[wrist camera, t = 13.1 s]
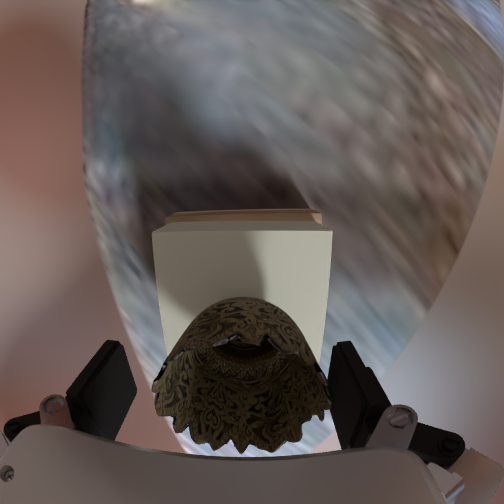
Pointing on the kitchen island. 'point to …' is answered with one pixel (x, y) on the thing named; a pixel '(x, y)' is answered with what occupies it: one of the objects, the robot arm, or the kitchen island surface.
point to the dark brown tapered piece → (242, 377)
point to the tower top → (243, 271)
